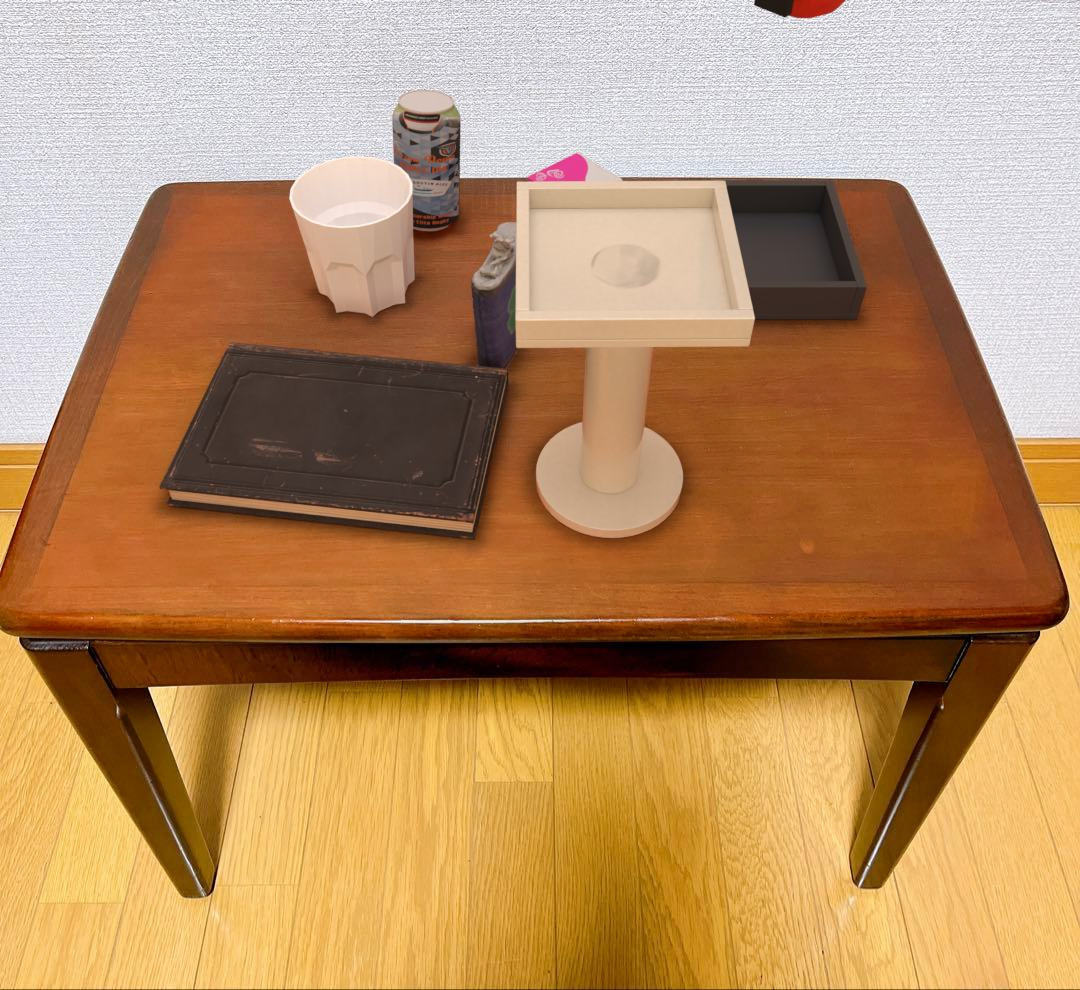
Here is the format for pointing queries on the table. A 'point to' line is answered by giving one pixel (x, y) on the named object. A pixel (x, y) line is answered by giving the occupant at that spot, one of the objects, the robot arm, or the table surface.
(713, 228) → the pedestal tray stand
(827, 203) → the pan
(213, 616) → the table surface
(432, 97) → the beverage can
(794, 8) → the apple
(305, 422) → the hardcover book
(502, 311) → the flask
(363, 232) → the cup
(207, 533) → the table surface
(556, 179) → the supplement box
